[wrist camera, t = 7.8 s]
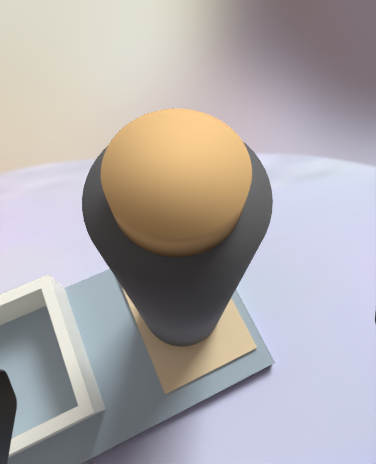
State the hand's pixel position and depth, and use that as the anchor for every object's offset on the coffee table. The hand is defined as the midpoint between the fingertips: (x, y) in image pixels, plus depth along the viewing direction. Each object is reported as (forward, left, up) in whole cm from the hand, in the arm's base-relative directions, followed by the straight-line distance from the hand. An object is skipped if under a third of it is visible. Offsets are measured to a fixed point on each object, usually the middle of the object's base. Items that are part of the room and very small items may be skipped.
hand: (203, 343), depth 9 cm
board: (+2, +4, -10) cm, 11 cm away
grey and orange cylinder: (+3, -1, -10) cm, 10 cm away
